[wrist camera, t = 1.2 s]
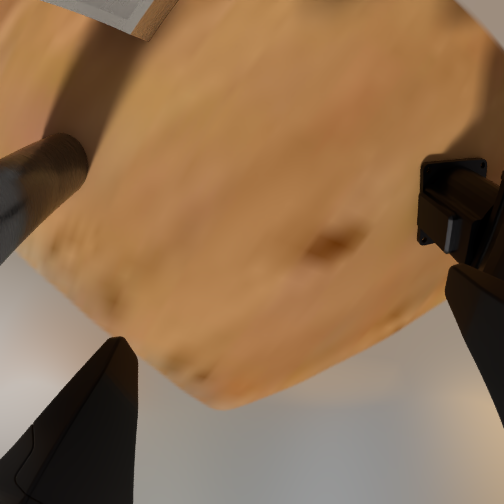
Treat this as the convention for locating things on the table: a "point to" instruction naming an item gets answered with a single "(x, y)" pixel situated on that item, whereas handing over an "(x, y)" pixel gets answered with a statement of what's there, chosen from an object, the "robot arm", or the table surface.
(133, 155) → the table surface
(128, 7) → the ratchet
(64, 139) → the dark metal cylinder
